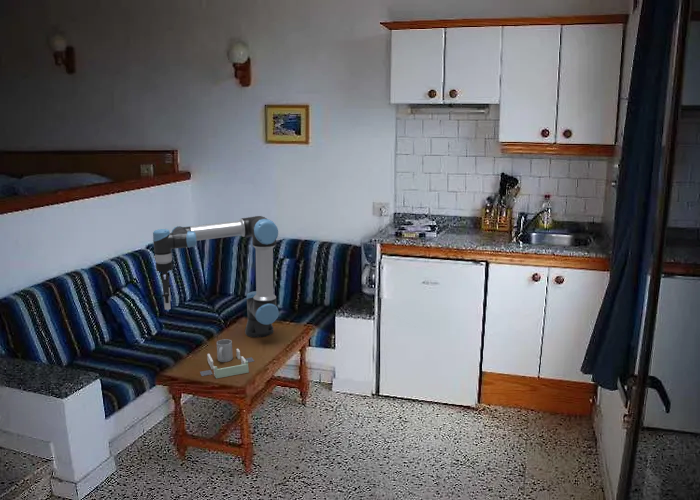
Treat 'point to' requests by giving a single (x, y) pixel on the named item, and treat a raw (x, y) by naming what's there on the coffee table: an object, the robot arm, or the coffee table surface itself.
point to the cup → (224, 350)
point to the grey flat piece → (228, 370)
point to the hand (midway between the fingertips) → (167, 304)
